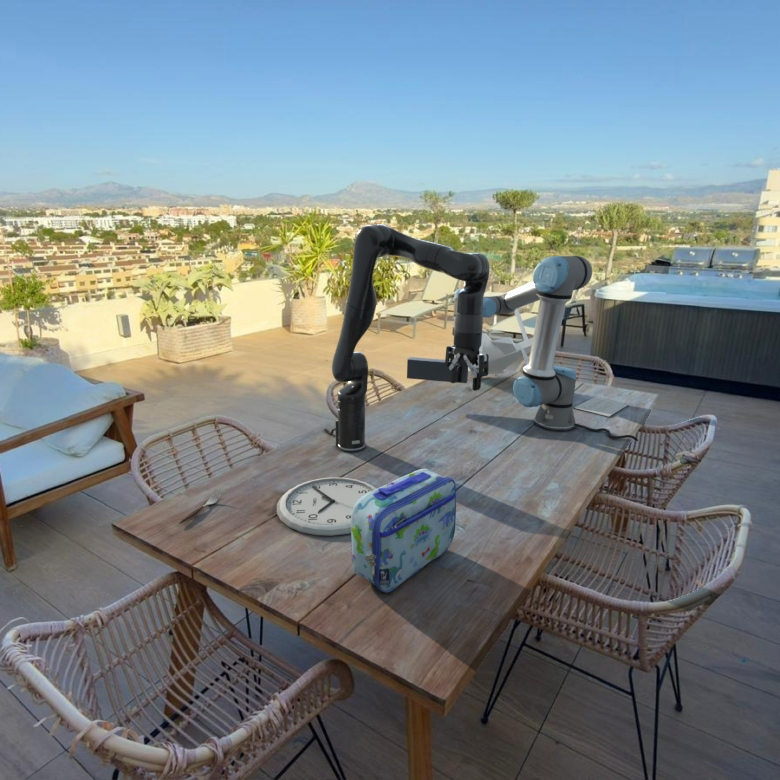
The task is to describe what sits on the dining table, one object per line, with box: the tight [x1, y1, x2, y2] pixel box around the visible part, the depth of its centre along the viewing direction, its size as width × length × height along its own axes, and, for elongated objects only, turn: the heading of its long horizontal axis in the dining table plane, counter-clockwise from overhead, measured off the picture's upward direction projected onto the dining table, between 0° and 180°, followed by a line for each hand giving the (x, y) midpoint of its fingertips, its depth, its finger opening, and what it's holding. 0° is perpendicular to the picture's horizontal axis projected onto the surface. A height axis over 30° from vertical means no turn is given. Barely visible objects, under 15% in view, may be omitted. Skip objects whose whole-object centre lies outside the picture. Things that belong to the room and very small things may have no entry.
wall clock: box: [276, 476, 378, 537], centre depth 142 cm, size 30×2×30 cm
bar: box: [406, 356, 469, 384], centre depth 228 cm, size 26×5×9 cm, turn 78°
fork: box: [178, 489, 223, 525], centre depth 139 cm, size 3×16×2 cm, turn 160°
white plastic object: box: [468, 308, 533, 378], centre depth 260 cm, size 37×45×31 cm
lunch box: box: [350, 468, 457, 593], centre depth 114 cm, size 26×11×21 cm, turn 134°
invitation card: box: [573, 396, 629, 418], centre depth 226 cm, size 21×1×15 cm
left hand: (464, 386), depth 147 cm, fingers open, 8 cm apart
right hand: (458, 379), depth 227 cm, fingers closed on bar, 5 cm apart
